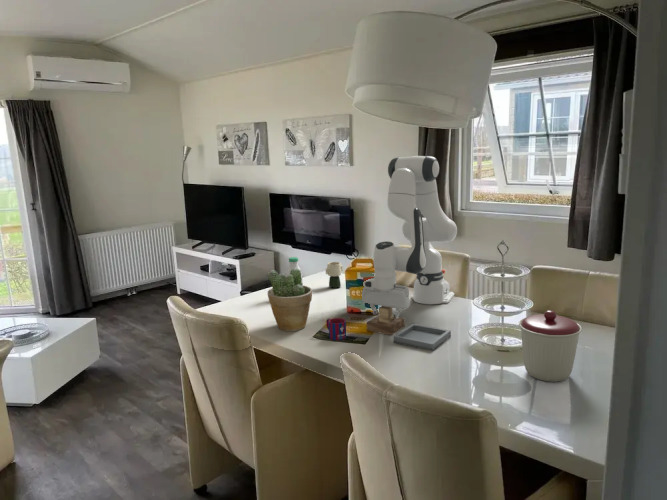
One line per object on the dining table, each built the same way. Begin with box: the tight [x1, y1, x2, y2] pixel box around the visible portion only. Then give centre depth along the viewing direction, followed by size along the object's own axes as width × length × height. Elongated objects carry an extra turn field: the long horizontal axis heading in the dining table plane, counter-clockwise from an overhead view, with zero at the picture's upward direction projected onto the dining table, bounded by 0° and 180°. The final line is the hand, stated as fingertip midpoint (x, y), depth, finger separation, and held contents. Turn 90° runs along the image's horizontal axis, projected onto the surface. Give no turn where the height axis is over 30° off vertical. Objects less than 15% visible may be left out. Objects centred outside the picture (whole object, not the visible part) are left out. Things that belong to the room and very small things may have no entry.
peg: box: [378, 306, 394, 323], centre depth 211 cm, size 4×4×9 cm
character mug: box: [325, 261, 344, 288], centre depth 274 cm, size 11×7×13 cm, turn 128°
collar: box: [366, 314, 406, 336], centre depth 211 cm, size 11×11×4 cm
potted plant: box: [266, 268, 313, 332], centre depth 216 cm, size 18×19×25 cm
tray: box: [392, 323, 452, 352], centre depth 198 cm, size 16×16×2 cm
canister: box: [518, 309, 583, 383], centre depth 163 cm, size 18×18×21 cm
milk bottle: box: [286, 256, 303, 284], centre depth 258 cm, size 8×8×20 cm
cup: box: [325, 317, 347, 341], centre depth 205 cm, size 7×10×7 cm
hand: (385, 316), depth 211 cm, fingers open, 8 cm apart
